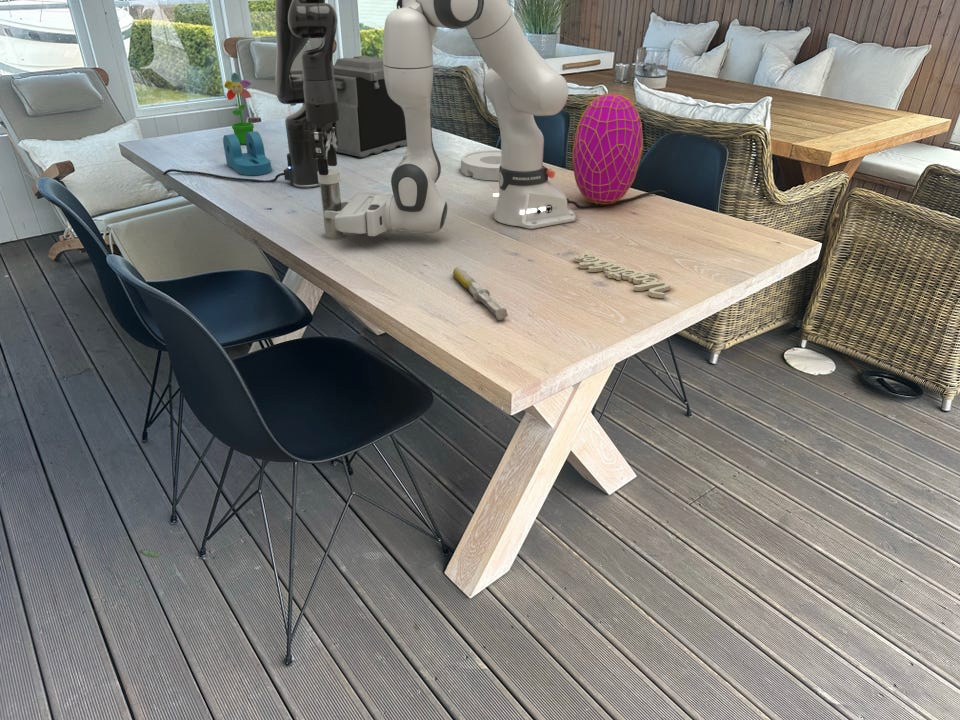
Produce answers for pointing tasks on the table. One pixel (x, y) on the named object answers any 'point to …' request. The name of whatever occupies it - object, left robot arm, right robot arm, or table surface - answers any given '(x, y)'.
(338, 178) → the lid
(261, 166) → the camera mount
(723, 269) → the table surface
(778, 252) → the table surface
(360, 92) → the electronic device
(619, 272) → the decorative sign
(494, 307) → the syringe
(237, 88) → the potted flower
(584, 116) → the decorative egg
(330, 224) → the cylinder
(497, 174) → the ashtray
